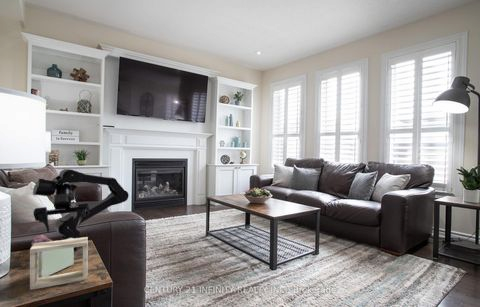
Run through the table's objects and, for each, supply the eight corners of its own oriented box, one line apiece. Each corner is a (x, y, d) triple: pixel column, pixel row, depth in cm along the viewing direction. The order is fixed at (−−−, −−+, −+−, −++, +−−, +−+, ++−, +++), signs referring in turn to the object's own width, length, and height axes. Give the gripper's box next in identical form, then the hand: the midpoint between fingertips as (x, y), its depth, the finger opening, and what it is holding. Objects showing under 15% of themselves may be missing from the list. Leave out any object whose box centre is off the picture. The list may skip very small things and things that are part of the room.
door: (35, 277, 92) (35, 248, 92) (68, 262, 104) (68, 237, 103) (41, 278, 91) (41, 249, 91) (73, 263, 103) (73, 238, 103)
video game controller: (44, 248, 123) (35, 235, 122) (54, 243, 124) (46, 230, 123) (36, 257, 114) (27, 243, 112) (47, 251, 115) (38, 237, 114)
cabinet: (34, 281, 90) (33, 243, 90) (87, 272, 97) (87, 236, 97) (30, 289, 85) (29, 249, 85) (86, 279, 92) (86, 242, 92)
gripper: (33, 187, 104) (28, 223, 95) (88, 183, 113) (89, 216, 104) (37, 203, 112) (34, 238, 103) (88, 198, 121) (89, 229, 112)
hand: (62, 230), depth 105 cm, fingers open, 9 cm apart
